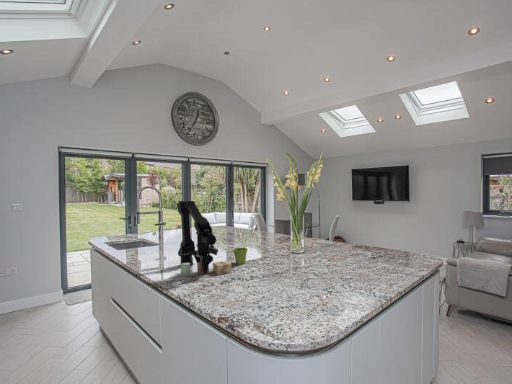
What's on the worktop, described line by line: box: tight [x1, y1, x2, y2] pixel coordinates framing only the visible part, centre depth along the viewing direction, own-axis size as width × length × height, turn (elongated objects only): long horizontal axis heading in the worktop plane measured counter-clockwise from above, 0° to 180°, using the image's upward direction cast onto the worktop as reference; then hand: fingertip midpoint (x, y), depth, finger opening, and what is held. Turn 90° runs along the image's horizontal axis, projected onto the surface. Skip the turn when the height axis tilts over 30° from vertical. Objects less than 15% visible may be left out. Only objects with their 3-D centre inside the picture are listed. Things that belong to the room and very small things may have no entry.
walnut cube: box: [196, 262, 210, 276], centre depth 164 cm, size 5×5×6 cm
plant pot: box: [232, 247, 249, 265], centre depth 184 cm, size 9×9×9 cm
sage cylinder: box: [180, 263, 191, 277], centre depth 161 cm, size 5×5×6 cm
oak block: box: [212, 260, 232, 276], centre depth 166 cm, size 8×8×5 cm
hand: (203, 271), depth 164 cm, fingers open, 9 cm apart
